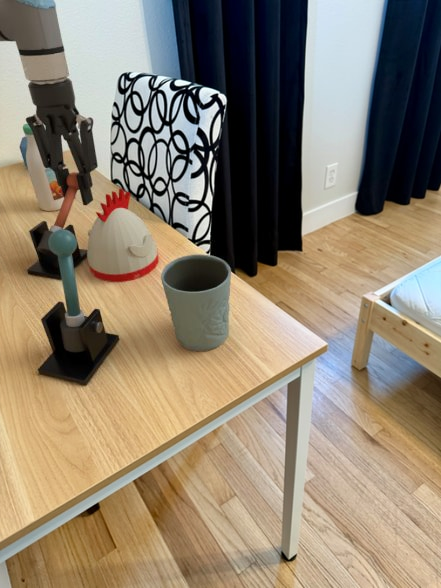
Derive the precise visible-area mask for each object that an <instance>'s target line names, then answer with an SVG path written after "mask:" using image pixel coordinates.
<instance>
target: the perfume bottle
mask: <svg viewBox="0 0 441 588" xmlns="http://www.w3.org/2000/svg"><path fill="white" fill-rule="evenodd" d="M26 124H27V123H25V124H23V125H22V127H23V126H24V125H26ZM19 150H20V153H21V158H22V160H23V164H24V166H25V168H28V167H27V162H26V152H27V137H26V136H25V135H24V136H23V137H22V138H21V141H20V144H19Z"/></svg>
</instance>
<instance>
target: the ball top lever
mask: <svg viewBox="0 0 441 588" xmlns="http://www.w3.org/2000/svg"><path fill="white" fill-rule="evenodd" d="M64 229H65V228H63V229H61V230H57V231H55V232H53V233H52V234H51V235H50V237H49V241H48V244H49V248H50V250H51V251H52V252H53V253H54V254H56V255H58V260H59V266H60V272H61V278H62V280H61V282H62V289H63V295H64V300H65V306H66V307H65V308H66V313H65V319H64V320H63V321H62V322H61V323H60V328H61V333H62V339H63V344H64V348H65V349H66V350H67V351H70V352H82V351H85V347H84V344H83V340H82V337H81V334H80V331H79V326H80V325H81V324H82V323H83V322H84V321H85V319H86V318H87V317H88V315H85V312H84V311H83V310H82V309H81V305H80V299H79V293H78V286H77V279H76V274H75V269H74V266H73V259H72V253H73V252H74V251H75V249H76V247H77V242H78V239H77V240H76V238H77V236H76V237H75V236H74V235H73V233H71V232H70V231H68V230H64Z"/></svg>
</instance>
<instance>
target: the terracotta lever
mask: <svg viewBox="0 0 441 588" xmlns="http://www.w3.org/2000/svg"><path fill="white" fill-rule="evenodd" d="M77 173H78V172H77V171H72V172H69V175H68V177H67V185H68V186H69V187H68V190H67V192H66V195H65V198H64V200H63V203H62V206H61V208H60V209H59V210H58V214H57V217H56V218H55V222H54V224H53V225H51V226H50V228H49V231H44V233H43V235H42V238H41V241H40V243H39V246H38V248H37V250H38V251H39V252H41V253H43V254H45V255H48V256H51V257H55V258H58V255H56V254H54V253H53V252H52V251H51V250H50V248H49V244H48V241H49V237H50V235H51V234H52V233H53V232H55V231H57V230H61V229H65V225H66V222H67V219H68V217H69V215H70V212H71V208H72V206H73V204H74V201H75V199H76V195H77V192H78V191H80V189H79V185H78V181H77V177H76V175H77ZM74 198H75V199H74Z"/></svg>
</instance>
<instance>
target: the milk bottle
mask: <svg viewBox="0 0 441 588" xmlns="http://www.w3.org/2000/svg"><path fill="white" fill-rule="evenodd" d="M25 124H26V125H25ZM25 124H23V125H24V126H23V125H22V131H23V133H24V137H25V136H26V137H27V152H26V162H27V167H26V168H27V170H28V174H29V177H30V181H31V184H32V187H33V191H34V194H35V198H36V201H37V204H38V206H39V209H41V210H43V211H47V212H54V211H60V208H61V206H62V203H63V200H64V196H63V192H62V189H61V186H59V185H58V183H57V180H56V176H55V172H54V171H53V170H52V169H50V168H45V167H44V165H43V162H42V159H41V156H40V153H39V150H38V147H37V144H36V141H35V138H34V135H33V132H32V130H31V128H30V127H29V125H28V123H25Z"/></svg>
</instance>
